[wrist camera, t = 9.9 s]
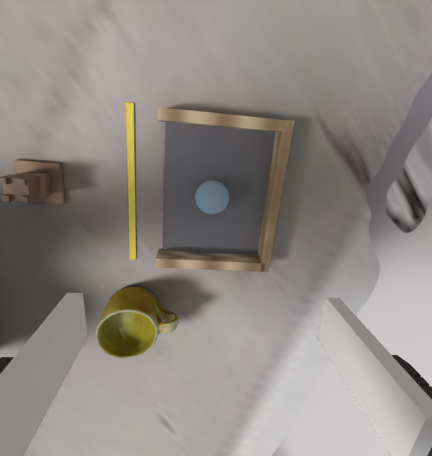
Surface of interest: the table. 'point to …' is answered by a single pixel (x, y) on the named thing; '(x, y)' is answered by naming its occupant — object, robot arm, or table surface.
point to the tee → (34, 183)
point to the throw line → (131, 178)
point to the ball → (212, 197)
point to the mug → (132, 323)
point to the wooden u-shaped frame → (272, 199)
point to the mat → (222, 172)
